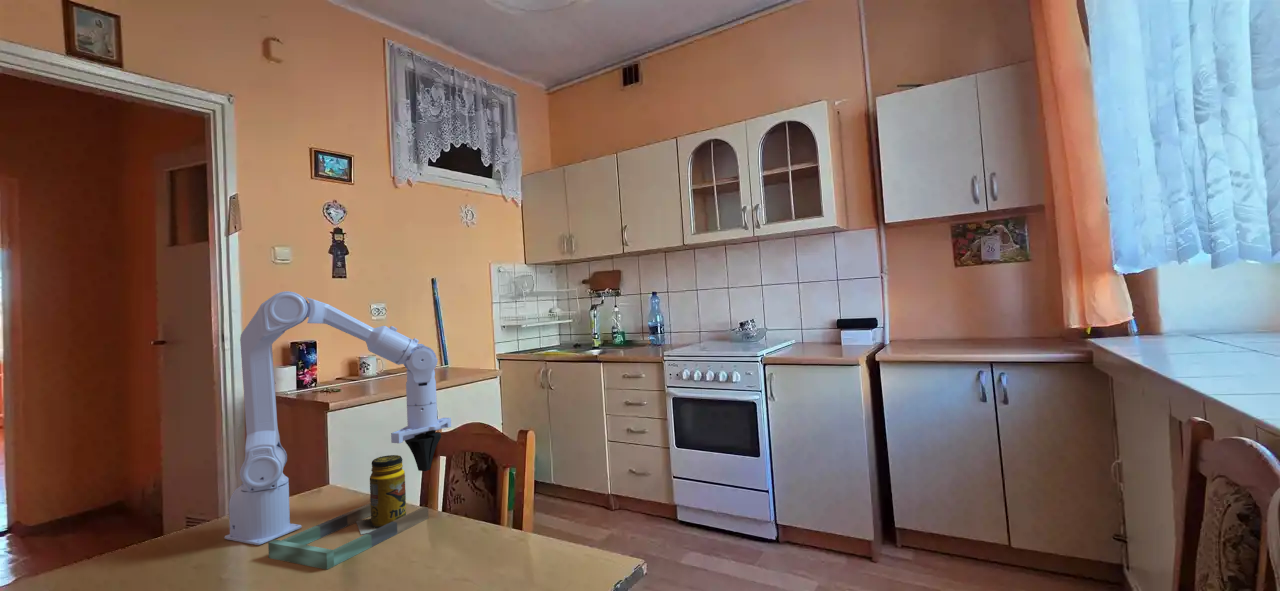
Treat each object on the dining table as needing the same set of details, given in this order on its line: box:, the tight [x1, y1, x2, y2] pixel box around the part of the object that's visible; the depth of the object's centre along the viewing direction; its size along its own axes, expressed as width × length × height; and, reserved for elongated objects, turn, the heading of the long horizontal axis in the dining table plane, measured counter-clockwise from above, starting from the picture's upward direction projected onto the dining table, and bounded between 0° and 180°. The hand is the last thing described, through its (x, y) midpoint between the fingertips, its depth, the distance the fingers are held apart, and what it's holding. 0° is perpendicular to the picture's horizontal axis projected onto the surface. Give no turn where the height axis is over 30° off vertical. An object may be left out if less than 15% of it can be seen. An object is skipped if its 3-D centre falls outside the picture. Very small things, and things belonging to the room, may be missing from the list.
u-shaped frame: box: [267, 503, 430, 571], centre depth 97 cm, size 13×21×2 cm, turn 158°
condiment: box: [356, 454, 407, 536], centre depth 103 cm, size 7×8×12 cm
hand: (424, 470), depth 113 cm, fingers closed
